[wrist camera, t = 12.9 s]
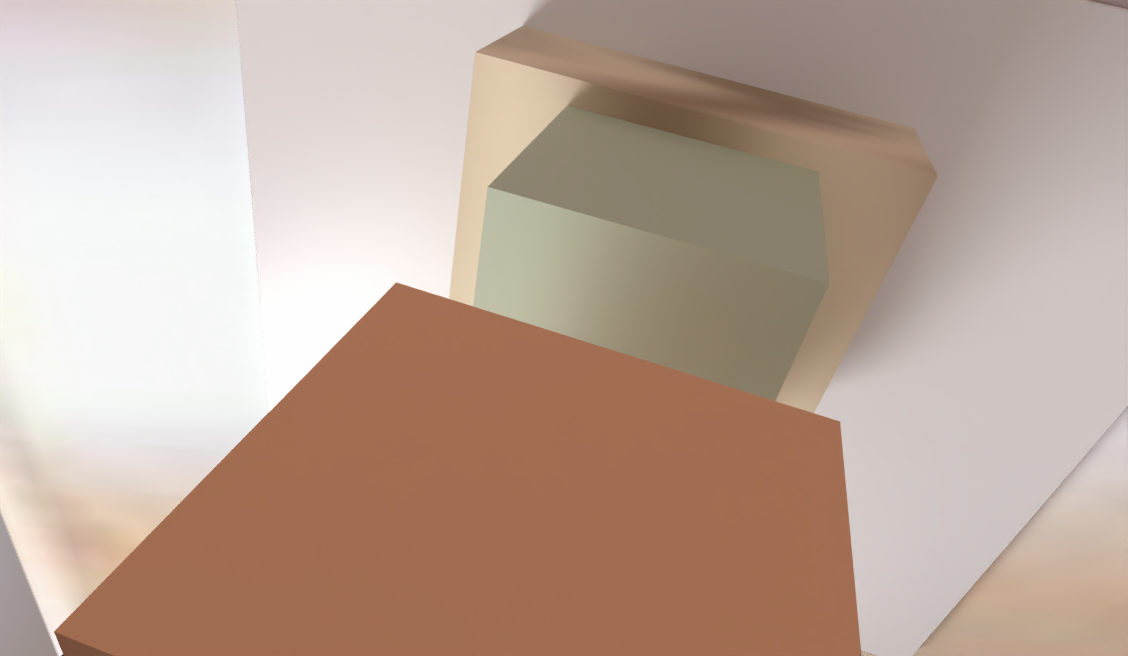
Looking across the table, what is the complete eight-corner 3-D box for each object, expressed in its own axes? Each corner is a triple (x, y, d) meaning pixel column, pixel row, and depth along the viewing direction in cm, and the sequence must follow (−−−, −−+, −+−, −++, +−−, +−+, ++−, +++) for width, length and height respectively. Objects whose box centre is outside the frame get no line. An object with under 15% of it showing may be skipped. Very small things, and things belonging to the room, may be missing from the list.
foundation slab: (914, 128, 15) (938, 176, 13) (781, 402, 20) (780, 476, 17) (522, 25, 16) (474, 51, 14) (482, 308, 21) (441, 365, 18)
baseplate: (1387, 69, 13) (1410, 77, 13) (901, 649, 25) (903, 665, 24) (237, -200, 16) (219, -202, 15) (280, 434, 27) (271, 444, 27)
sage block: (818, 171, 13) (829, 283, 10) (710, 437, 17) (689, 587, 14) (567, 105, 14) (487, 187, 10) (518, 376, 18) (449, 504, 14)
